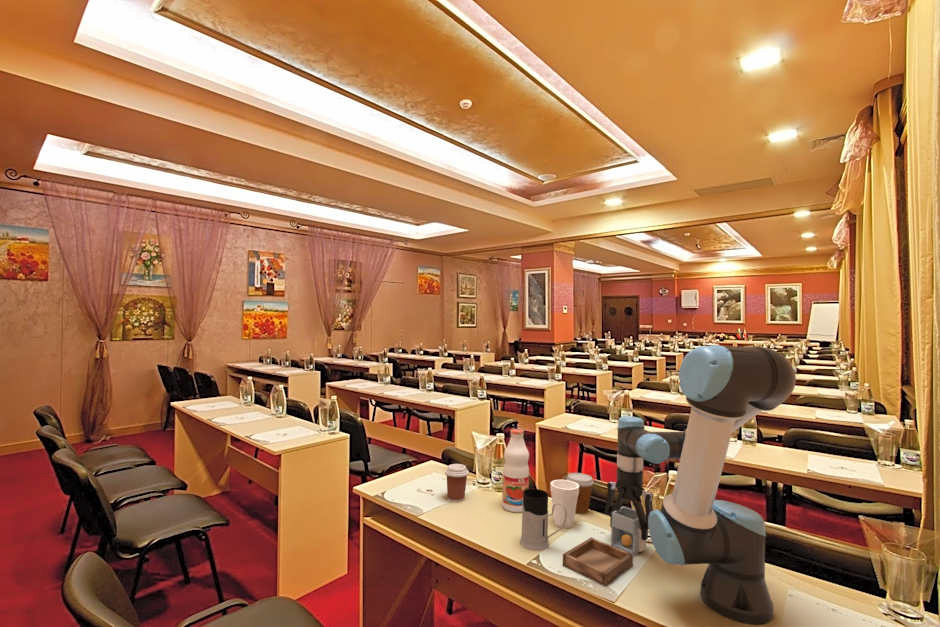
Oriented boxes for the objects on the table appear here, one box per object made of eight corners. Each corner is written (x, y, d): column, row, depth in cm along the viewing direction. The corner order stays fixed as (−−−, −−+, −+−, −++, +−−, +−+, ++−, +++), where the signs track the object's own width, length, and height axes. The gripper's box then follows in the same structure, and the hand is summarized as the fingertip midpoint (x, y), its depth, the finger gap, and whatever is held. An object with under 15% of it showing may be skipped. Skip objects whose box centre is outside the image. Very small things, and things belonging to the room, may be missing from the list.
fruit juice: (522, 501, 165) (524, 426, 166) (531, 512, 156) (534, 432, 157) (498, 503, 163) (501, 427, 164) (506, 513, 154) (509, 433, 154)
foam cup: (576, 518, 152) (577, 480, 152) (580, 530, 142) (581, 490, 143) (548, 516, 153) (549, 478, 153) (550, 528, 143) (551, 488, 144)
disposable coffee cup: (560, 506, 162) (561, 473, 162) (582, 503, 165) (583, 471, 165) (575, 517, 153) (576, 482, 153) (598, 514, 156) (599, 480, 156)
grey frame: (622, 538, 138) (623, 506, 138) (645, 547, 133) (646, 513, 133) (610, 546, 133) (611, 512, 133) (634, 555, 128) (635, 520, 128)
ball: (636, 543, 132) (633, 536, 131) (628, 550, 131) (625, 543, 130) (627, 537, 135) (625, 530, 134) (620, 544, 134) (617, 536, 133)
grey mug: (526, 533, 139) (528, 486, 140) (570, 546, 132) (571, 496, 132) (515, 545, 132) (516, 494, 132) (560, 559, 124) (561, 505, 125)
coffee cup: (443, 503, 161) (444, 470, 162) (444, 493, 170) (445, 462, 171) (468, 503, 161) (469, 470, 162) (467, 494, 170) (468, 463, 171)
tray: (632, 565, 122) (632, 554, 123) (605, 586, 112) (606, 574, 112) (590, 547, 132) (591, 537, 132) (562, 565, 121) (562, 554, 121)
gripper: (668, 474, 129) (667, 553, 128) (605, 458, 144) (603, 529, 143) (658, 480, 124) (656, 562, 123) (593, 462, 138) (591, 536, 138)
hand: (628, 544), depth 133 cm, fingers closed on grey frame, 7 cm apart
